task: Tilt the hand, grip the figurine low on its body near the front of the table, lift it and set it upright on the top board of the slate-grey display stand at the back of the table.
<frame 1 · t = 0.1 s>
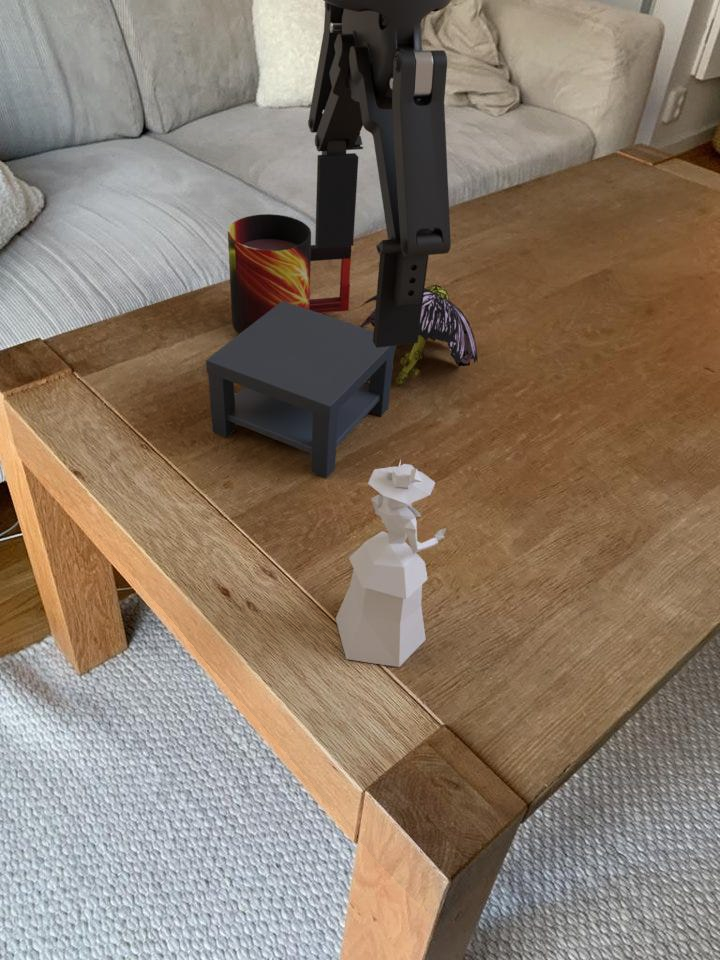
hand: (362, 290, 56), 27 cm above the table, tool pointing down, fingers open, 13 cm apart
decorative flower: (415, 369, 97), on the table
figurine: (378, 632, 68), on the table
mug: (284, 318, 104), on the table
stand: (302, 420, 88), on the table
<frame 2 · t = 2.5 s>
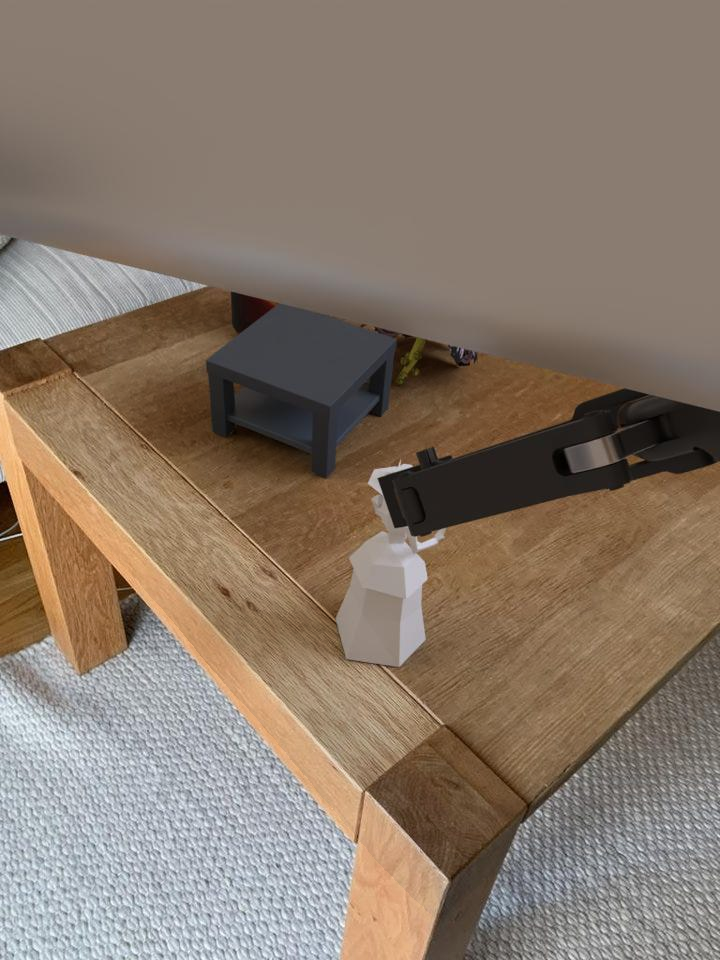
hand: (498, 462, 44), 26 cm above the table, tool tilted 45°, fingers open, 13 cm apart
nothing on the table moved.
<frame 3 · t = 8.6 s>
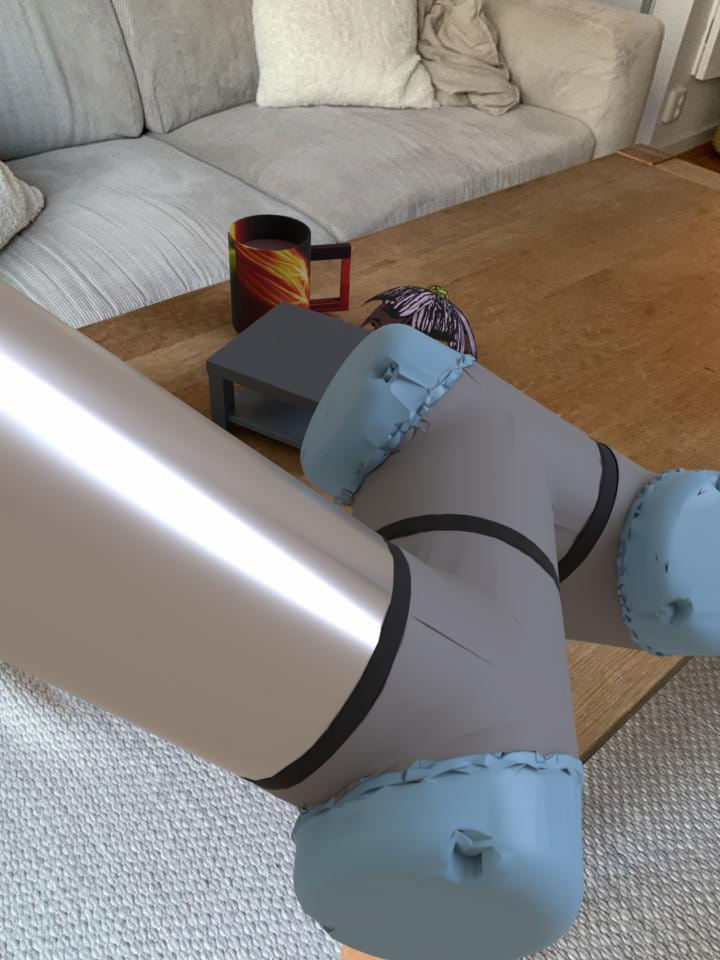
hand: (362, 564, 67), 4 cm above the table, tool tilted 45°, fingers closed on figurine, 6 cm apart
figurine: (376, 632, 68), on the table, touching gripper
everything else where it was.
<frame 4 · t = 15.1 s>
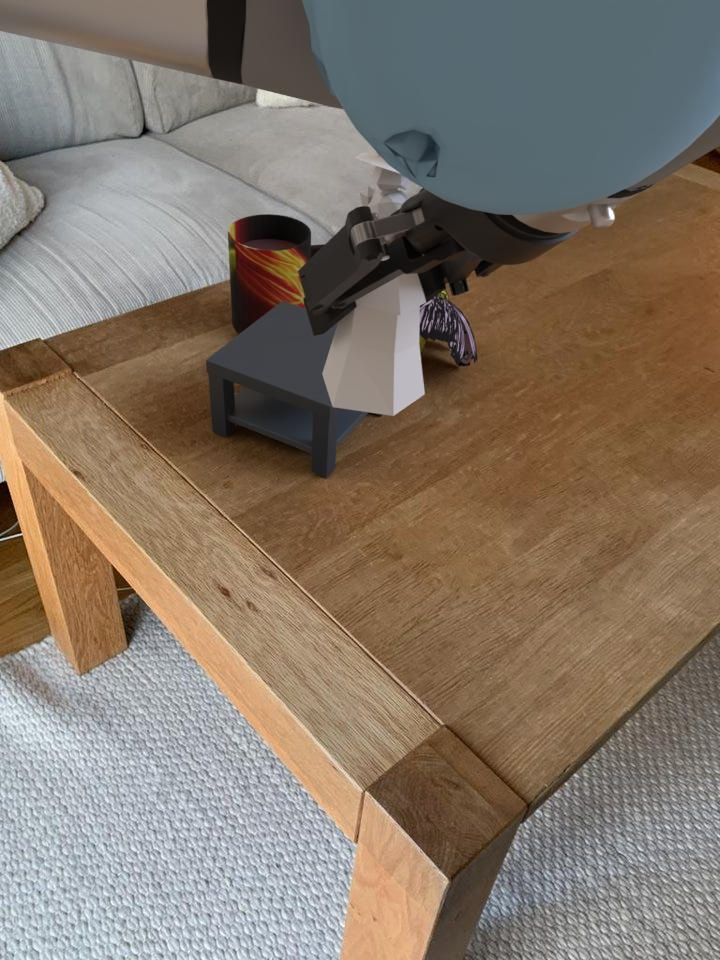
hand: (355, 307, 59), 24 cm above the table, tool tilted 45°, fingers closed on figurine, 6 cm apart
figurine: (370, 387, 59), point 20 cm above the table, touching gripper
everything else where it was.
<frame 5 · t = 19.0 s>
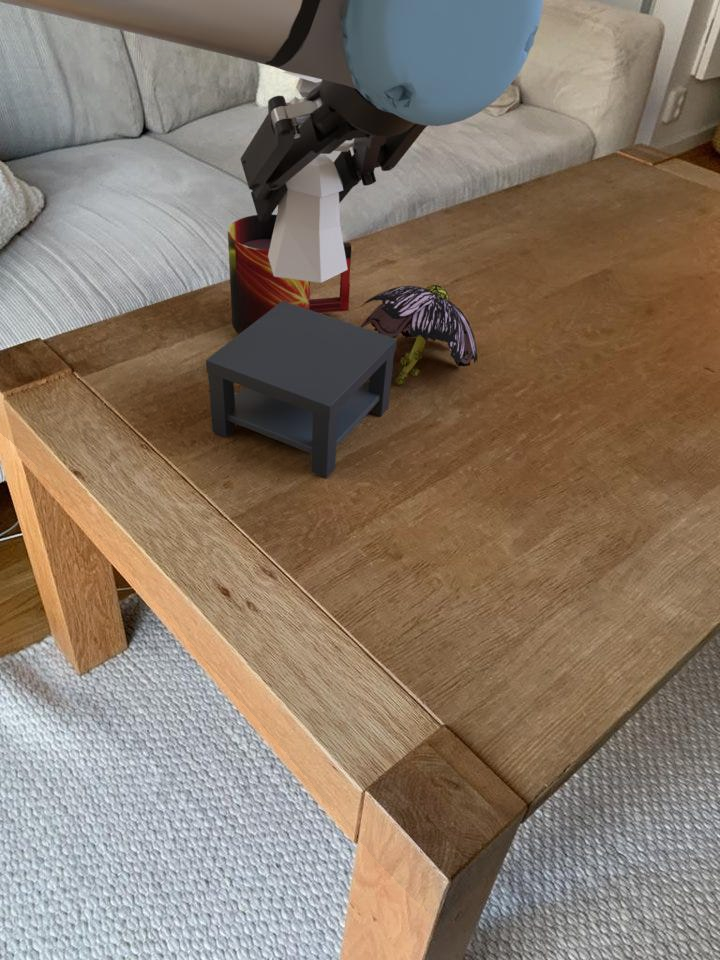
hand: (293, 201, 75), 23 cm above the table, tool tilted 45°, fingers closed on figurine, 6 cm apart
figurine: (305, 265, 75), point 19 cm above the table, touching gripper
everything else where it was.
when the fingers open (13 cm above the table, at t = 22.0 s): figurine stays where it is, resting on stand.
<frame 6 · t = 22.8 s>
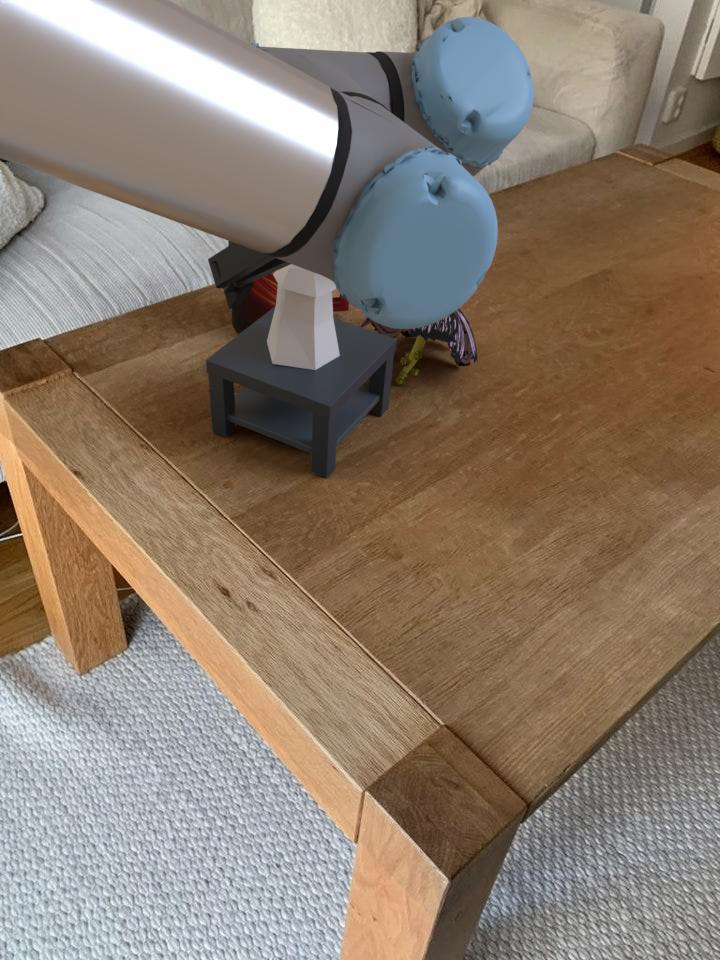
hand: (294, 282, 80), 15 cm above the table, tool tilted 45°, fingers open, 13 cm apart
figurine: (301, 351, 82), point 9 cm above the table, touching stand
everything else where it was.
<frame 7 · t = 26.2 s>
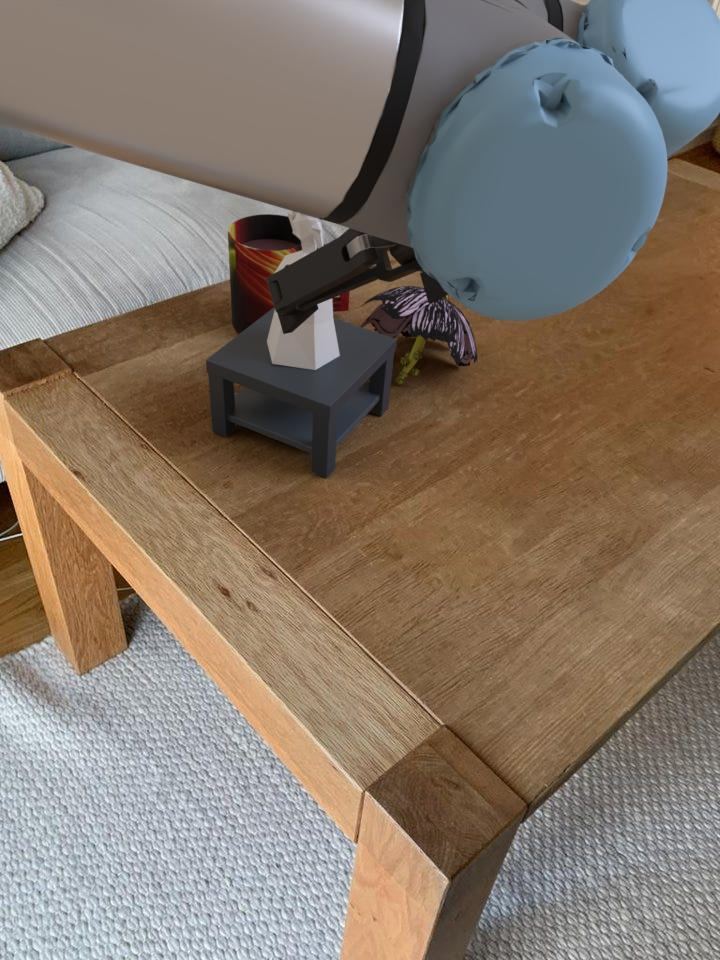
hand: (358, 302, 68), 20 cm above the table, tool tilted 45°, fingers open, 13 cm apart
nothing on the table moved.
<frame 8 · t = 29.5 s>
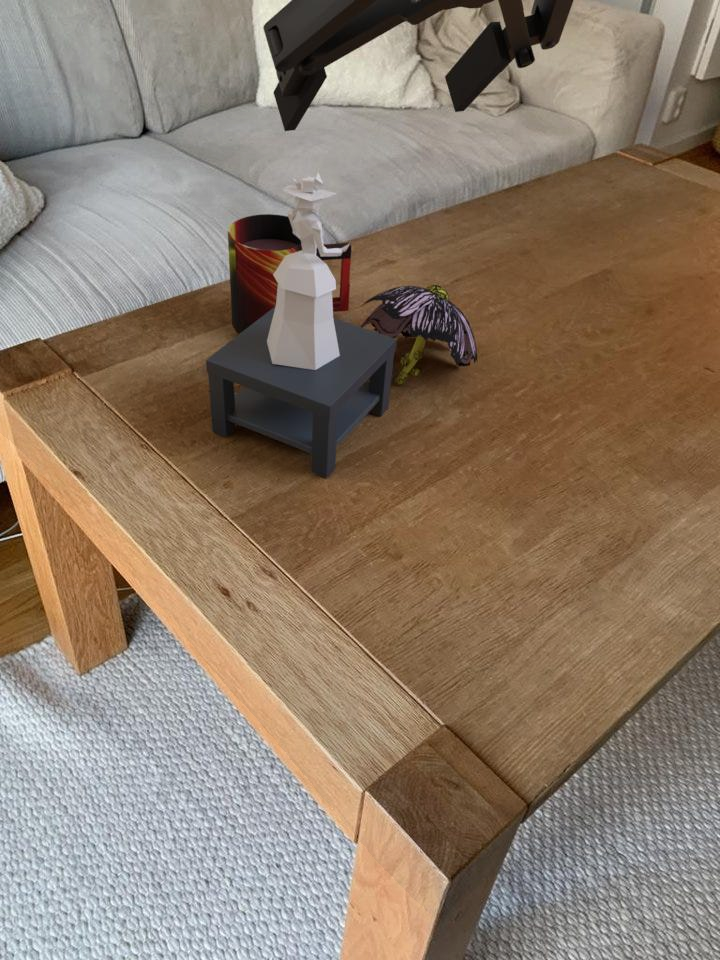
hand: (372, 102, 58), 36 cm above the table, tool tilted 45°, fingers open, 13 cm apart
nothing on the table moved.
at the end: figurine inside the target area on the stand (0.3 cm from its centre), point 8.8 cm above the stand's base; figurine tilted 0°; the gripper is holding nothing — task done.
